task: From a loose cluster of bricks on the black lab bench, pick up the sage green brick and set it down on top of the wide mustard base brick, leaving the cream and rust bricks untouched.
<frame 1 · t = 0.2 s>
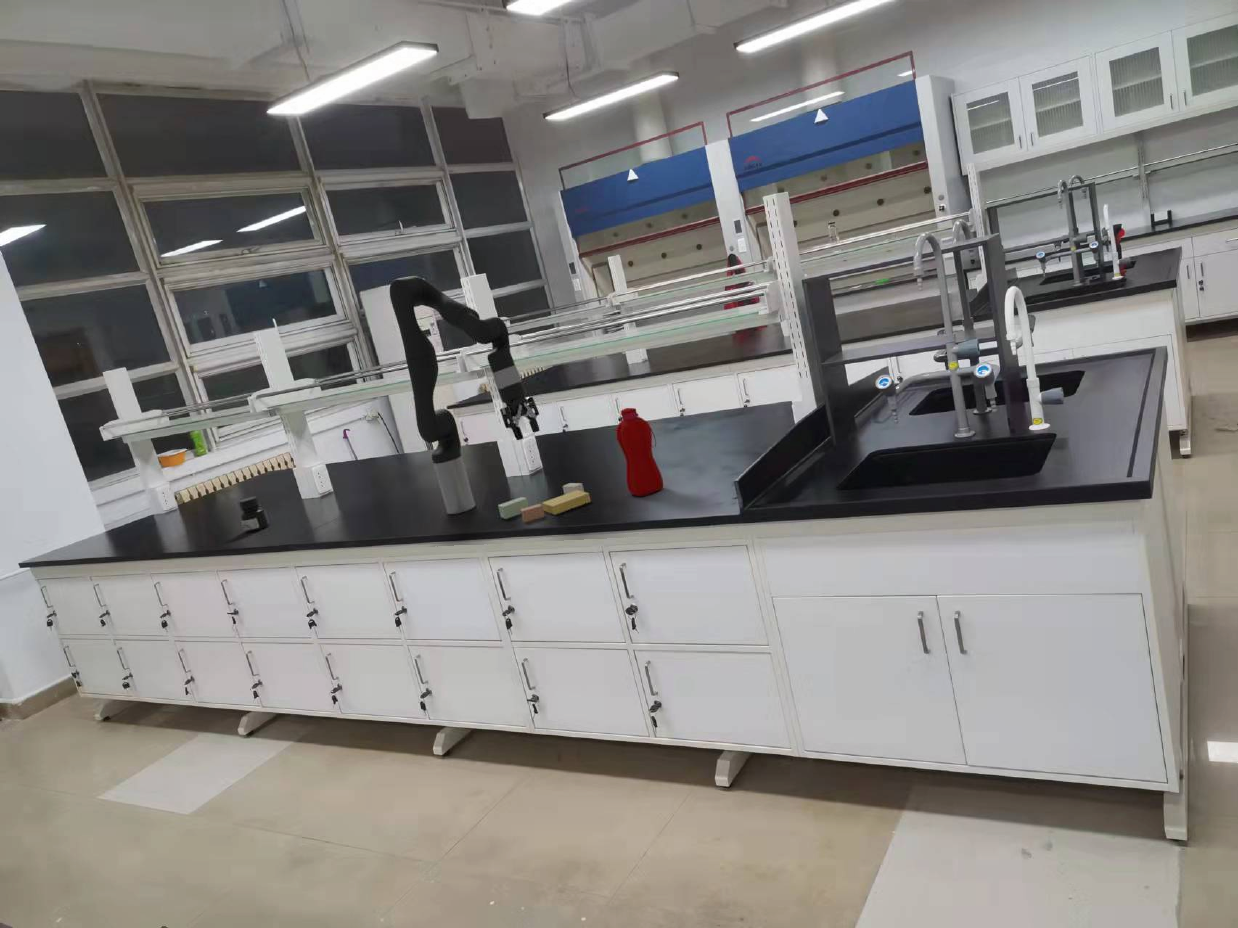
hand: (528, 435, 256), 22 cm above the countertop, tool pointing down, fingers open, 8 cm apart
rust brick: (534, 518, 250), on the countertop
mustard base brick: (567, 507, 255), on the countertop
water bottle: (649, 491, 250), on the countertop
sage brick: (515, 514, 260), on the countertop
ink bottle: (257, 529, 327), on the countertop
cream brick: (574, 495, 266), on the countertop
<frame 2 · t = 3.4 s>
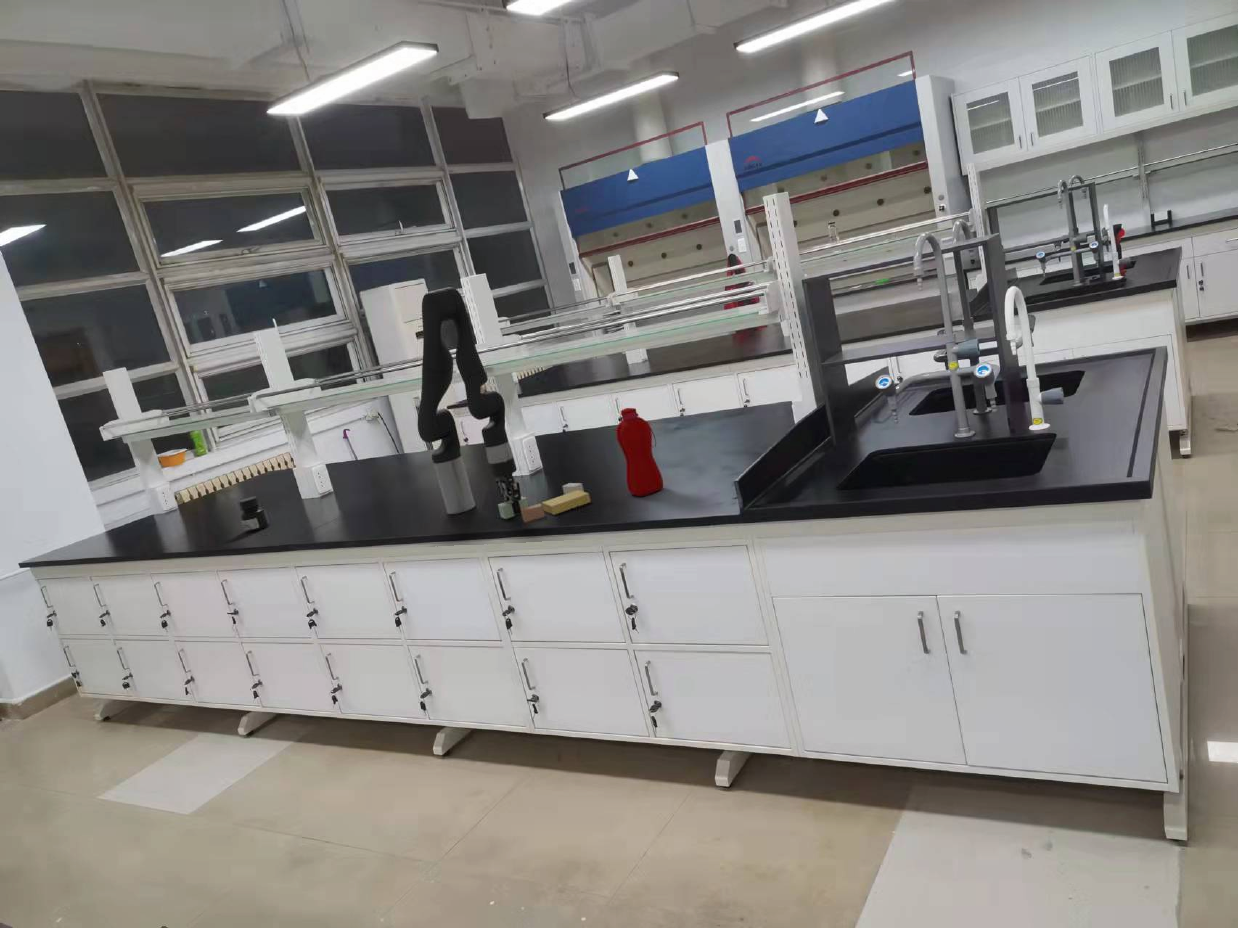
hand: (515, 512, 260), 0 cm above the countertop, tool pointing down, fingers closed on sage brick, 4 cm apart
sage brick: (515, 513, 260), on the countertop, touching gripper
everything else where it was.
when the fingers open (4 cm above the countertop, at t = 8.4 s): sage brick drops 1 cm, resting on mustard base brick.
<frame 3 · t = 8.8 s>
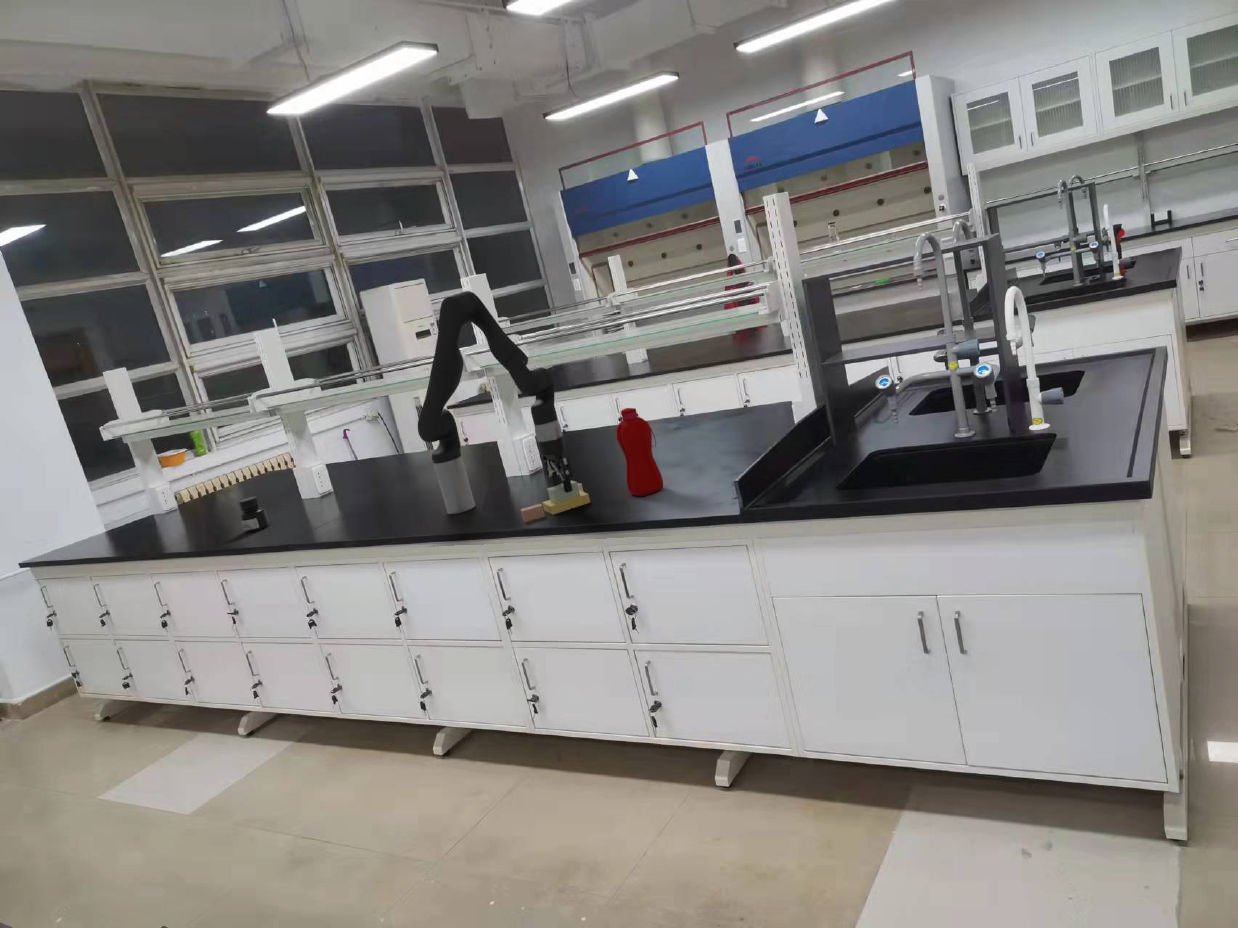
hand: (563, 490, 254), 5 cm above the countertop, tool pointing down, fingers open, 7 cm apart
mustard base brick: (567, 507, 255), on the countertop, touching sage brick
sage brick: (565, 498, 254), point 2 cm above the countertop, touching mustard base brick
everything else where it was.
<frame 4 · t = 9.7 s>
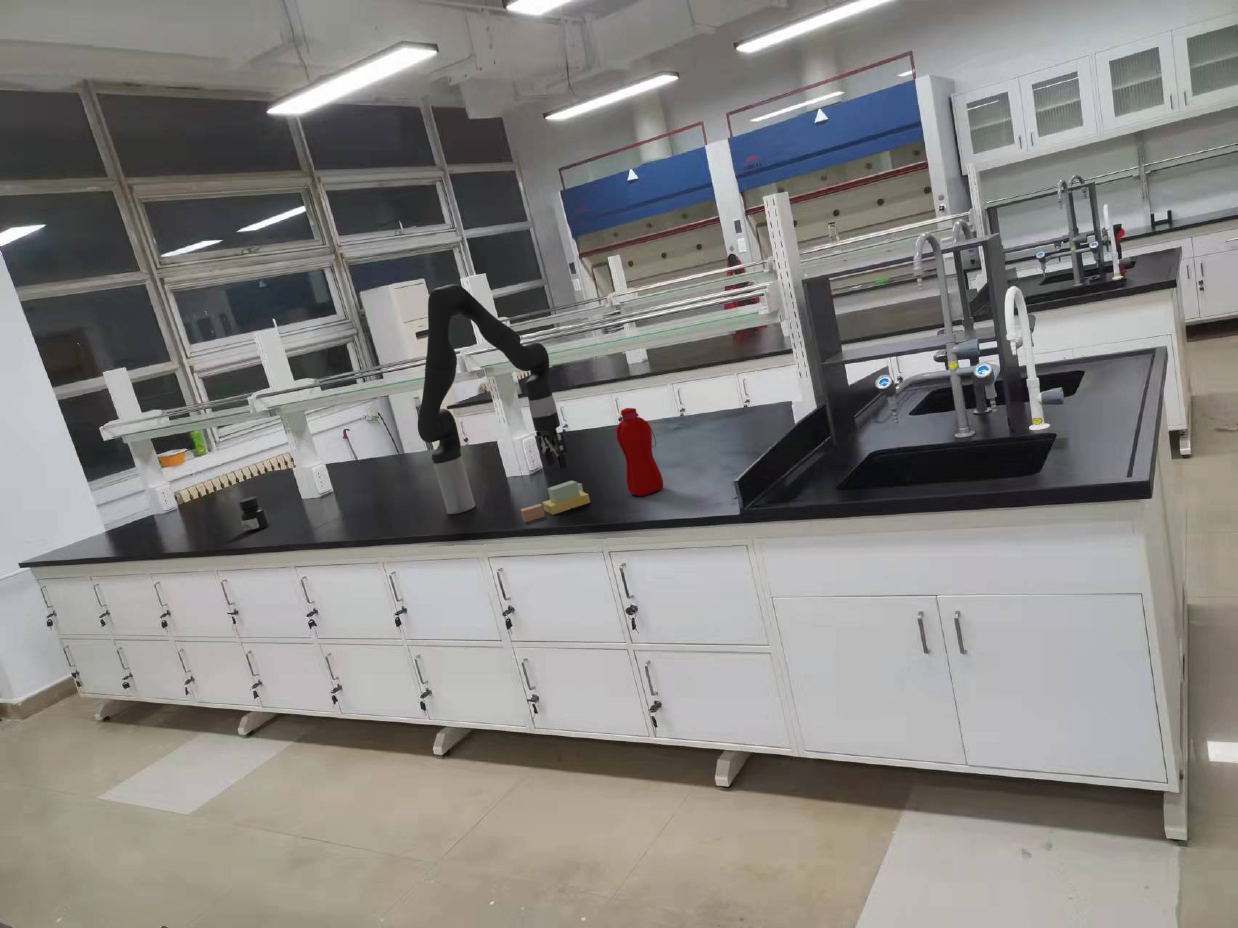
hand: (556, 466, 252), 12 cm above the countertop, tool pointing down, fingers open, 8 cm apart
nothing on the countertop moved.
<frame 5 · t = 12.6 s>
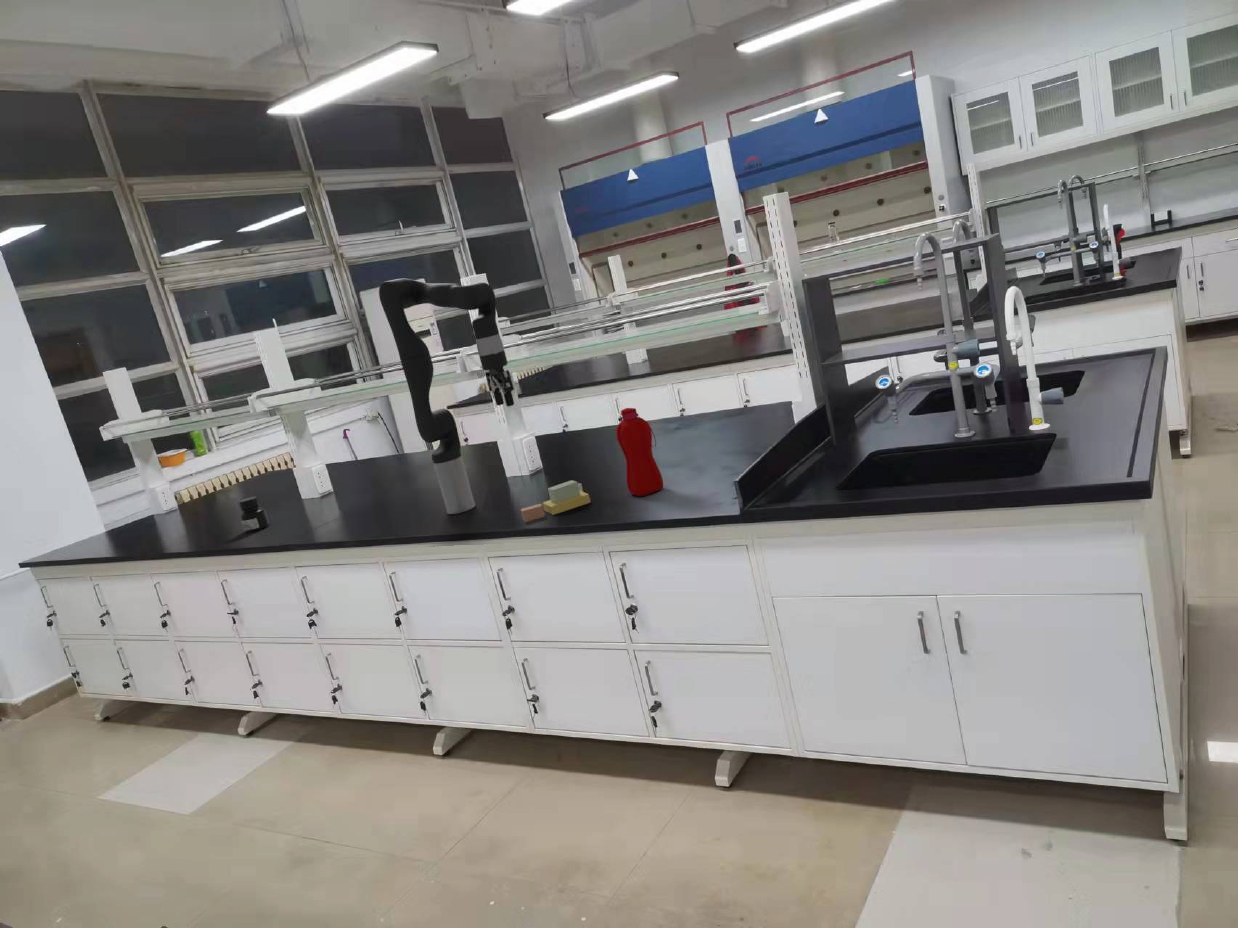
hand: (505, 405, 257), 32 cm above the countertop, tool pointing down, fingers open, 8 cm apart
nothing on the countertop moved.
at the end: sage brick inside the target area on the mustard base brick (0.4 cm from its centre), point 3.0 cm above the mustard base brick's base; cream brick moved 0.5 cm from its start; rust brick moved 0.2 cm from its start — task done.
